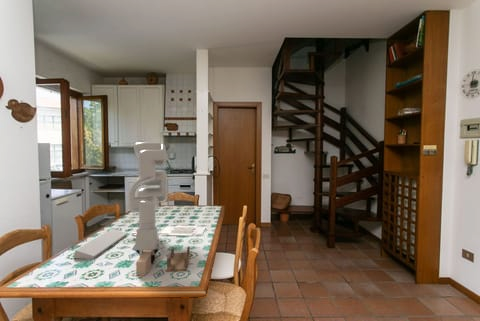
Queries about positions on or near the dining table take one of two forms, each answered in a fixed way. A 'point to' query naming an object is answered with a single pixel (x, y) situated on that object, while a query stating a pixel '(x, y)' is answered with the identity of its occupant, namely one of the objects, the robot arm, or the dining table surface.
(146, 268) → the clay strip
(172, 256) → the rack
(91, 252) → the decorative molding
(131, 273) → the dining table surface
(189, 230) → the tray
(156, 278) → the dining table surface
